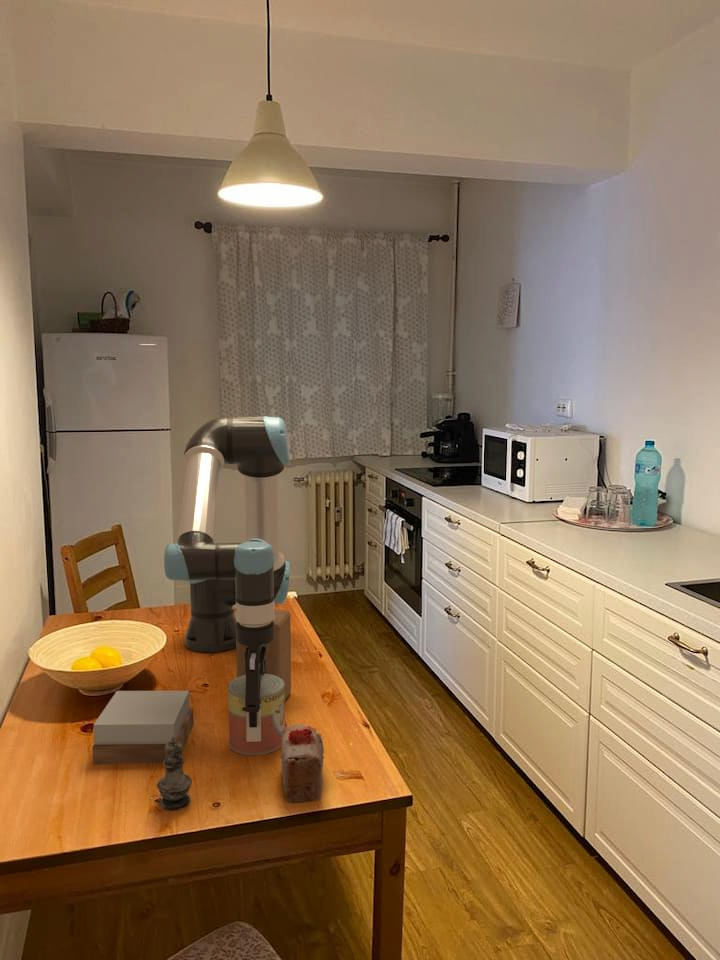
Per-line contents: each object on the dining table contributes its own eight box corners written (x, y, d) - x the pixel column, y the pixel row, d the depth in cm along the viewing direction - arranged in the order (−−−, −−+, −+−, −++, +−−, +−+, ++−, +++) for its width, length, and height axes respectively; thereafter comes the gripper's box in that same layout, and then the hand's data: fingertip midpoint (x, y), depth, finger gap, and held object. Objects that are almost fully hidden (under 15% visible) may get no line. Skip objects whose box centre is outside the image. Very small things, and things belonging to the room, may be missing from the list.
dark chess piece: (160, 814, 125) (157, 747, 124) (155, 796, 131) (152, 732, 129) (195, 806, 128) (193, 741, 126) (189, 789, 133) (187, 725, 131)
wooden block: (279, 711, 163) (278, 623, 161) (235, 707, 165) (234, 620, 162) (292, 692, 173) (291, 609, 170) (251, 688, 175) (249, 606, 172)
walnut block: (117, 726, 157) (116, 708, 157) (193, 725, 158) (193, 707, 157) (93, 766, 141) (92, 746, 141) (178, 765, 142) (178, 745, 142)
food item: (279, 764, 142) (278, 715, 141) (320, 760, 143) (320, 712, 142) (282, 804, 129) (282, 751, 127) (328, 801, 130) (329, 748, 128)
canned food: (275, 757, 144) (275, 698, 142) (220, 752, 146) (218, 694, 144) (291, 730, 155) (291, 675, 153) (239, 725, 157) (238, 671, 155)
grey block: (117, 709, 156) (116, 690, 156) (189, 708, 157) (189, 690, 156) (94, 744, 142) (93, 724, 141) (174, 743, 142) (173, 724, 142)
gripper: (242, 603, 158) (244, 700, 161) (227, 643, 135) (230, 756, 138) (278, 602, 159) (279, 700, 162) (269, 642, 135) (271, 755, 139)
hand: (256, 726), depth 150 cm, fingers closed on canned food, 11 cm apart
